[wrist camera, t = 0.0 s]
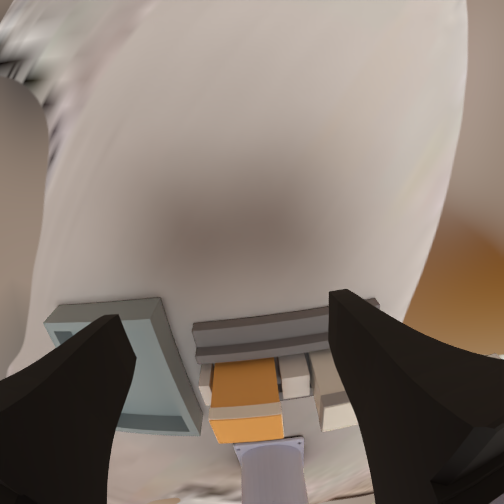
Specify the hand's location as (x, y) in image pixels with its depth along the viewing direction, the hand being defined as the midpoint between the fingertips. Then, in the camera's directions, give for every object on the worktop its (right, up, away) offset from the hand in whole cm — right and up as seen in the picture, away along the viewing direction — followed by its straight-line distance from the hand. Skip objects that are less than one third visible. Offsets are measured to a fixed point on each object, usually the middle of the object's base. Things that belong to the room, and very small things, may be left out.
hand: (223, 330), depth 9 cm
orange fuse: (+1, -7, +13) cm, 14 cm away
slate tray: (-10, -8, +14) cm, 19 cm away
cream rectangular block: (+8, -6, +12) cm, 16 cm away
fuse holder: (+4, -6, +13) cm, 15 cm away
